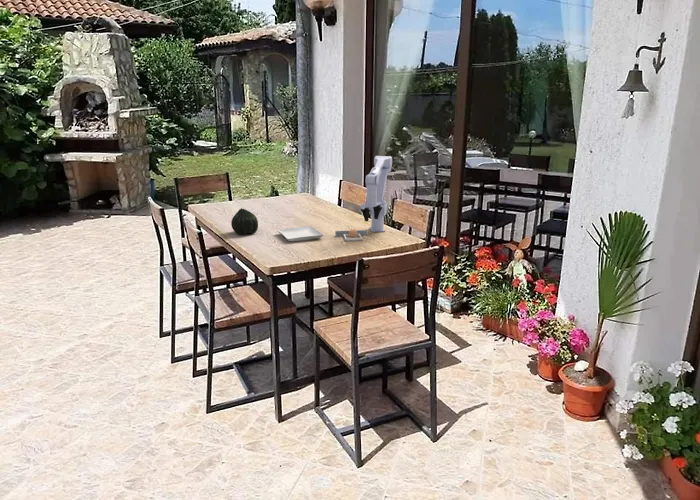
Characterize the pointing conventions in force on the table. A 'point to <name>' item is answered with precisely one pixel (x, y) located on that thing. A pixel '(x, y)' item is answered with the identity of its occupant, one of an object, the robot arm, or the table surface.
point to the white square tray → (357, 238)
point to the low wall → (341, 233)
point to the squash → (244, 222)
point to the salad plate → (300, 233)
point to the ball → (352, 233)
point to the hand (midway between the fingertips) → (371, 220)
